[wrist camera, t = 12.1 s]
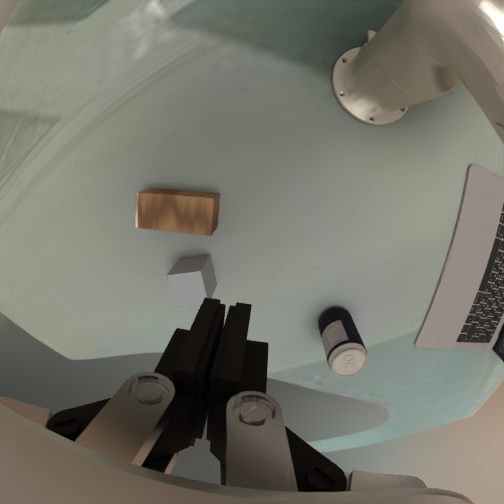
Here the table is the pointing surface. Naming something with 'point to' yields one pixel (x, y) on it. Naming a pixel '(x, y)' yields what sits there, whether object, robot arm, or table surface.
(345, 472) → the robot arm
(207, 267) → the slate block
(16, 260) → the table surface
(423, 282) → the table surface
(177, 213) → the walnut block
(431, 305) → the laptop
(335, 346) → the beverage can
